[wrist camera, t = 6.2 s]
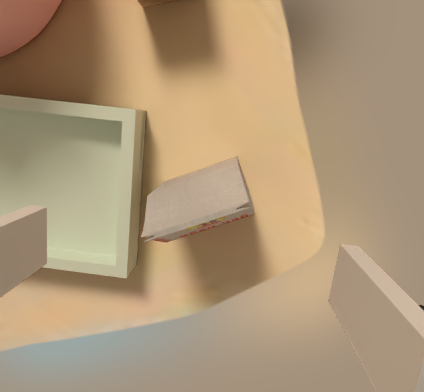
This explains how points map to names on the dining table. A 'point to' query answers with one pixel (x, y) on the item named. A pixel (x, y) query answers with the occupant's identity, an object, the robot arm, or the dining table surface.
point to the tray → (76, 179)
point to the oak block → (153, 2)
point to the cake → (23, 21)
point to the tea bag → (197, 202)
